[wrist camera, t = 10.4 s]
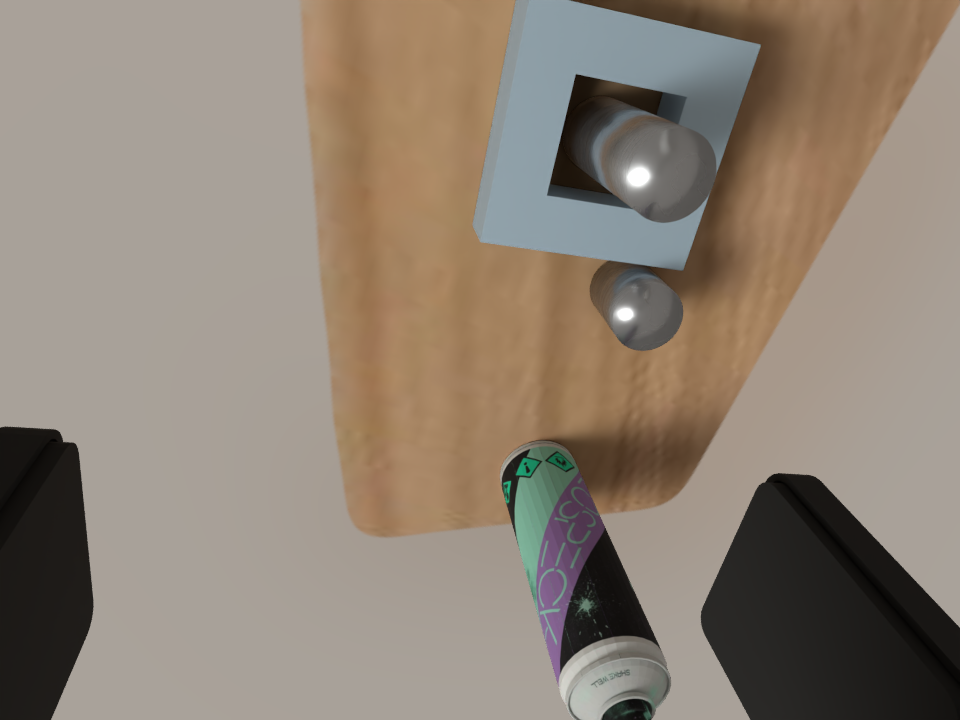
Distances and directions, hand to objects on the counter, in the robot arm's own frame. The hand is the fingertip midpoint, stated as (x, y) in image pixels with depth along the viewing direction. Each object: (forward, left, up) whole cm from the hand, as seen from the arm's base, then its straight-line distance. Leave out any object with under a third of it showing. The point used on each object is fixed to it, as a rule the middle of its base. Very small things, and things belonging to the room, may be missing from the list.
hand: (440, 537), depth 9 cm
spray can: (+21, +14, -31) cm, 40 cm away
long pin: (-2, +12, -30) cm, 33 cm away
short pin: (+6, +16, -30) cm, 35 cm away
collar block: (-2, +12, -30) cm, 33 cm away
